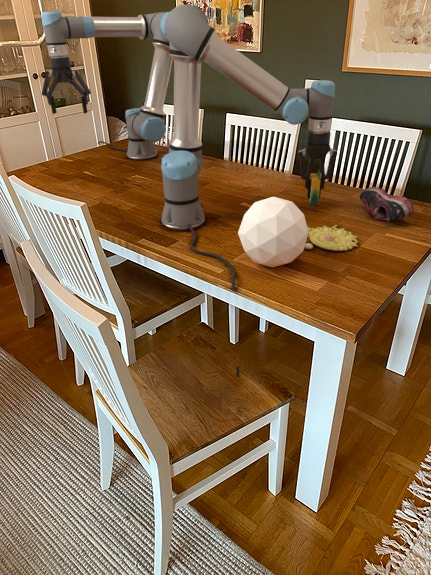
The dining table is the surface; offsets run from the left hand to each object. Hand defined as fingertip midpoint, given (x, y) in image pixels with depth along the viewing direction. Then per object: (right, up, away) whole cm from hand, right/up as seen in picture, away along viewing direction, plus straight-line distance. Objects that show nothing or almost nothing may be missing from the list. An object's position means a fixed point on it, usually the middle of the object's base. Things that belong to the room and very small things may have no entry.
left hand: (70, 113), depth 188 cm
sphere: (+78, -67, -57) cm, 118 cm away
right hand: (+98, -41, -26) cm, 109 cm away
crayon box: (+98, -43, -25) cm, 110 cm away
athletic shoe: (+119, -49, -32) cm, 133 cm away
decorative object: (+98, -59, -46) cm, 123 cm away
